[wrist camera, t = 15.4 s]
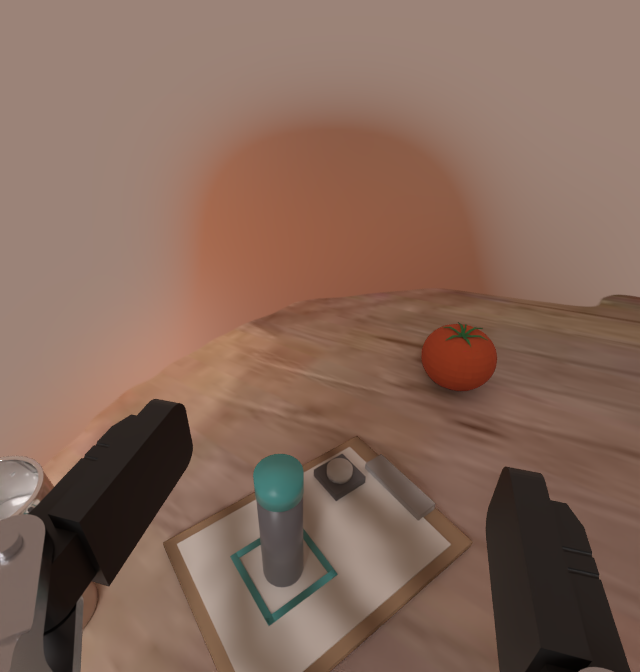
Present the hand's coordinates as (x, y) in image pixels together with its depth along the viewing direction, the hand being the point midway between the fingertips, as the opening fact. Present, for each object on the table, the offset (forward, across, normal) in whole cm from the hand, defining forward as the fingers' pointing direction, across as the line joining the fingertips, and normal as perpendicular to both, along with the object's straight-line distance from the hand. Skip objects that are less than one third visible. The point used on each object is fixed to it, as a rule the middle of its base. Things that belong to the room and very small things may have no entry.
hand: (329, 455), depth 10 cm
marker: (+12, +6, +29) cm, 32 cm away
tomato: (+45, -9, +30) cm, 55 cm away
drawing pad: (+15, +4, +30) cm, 34 cm away
